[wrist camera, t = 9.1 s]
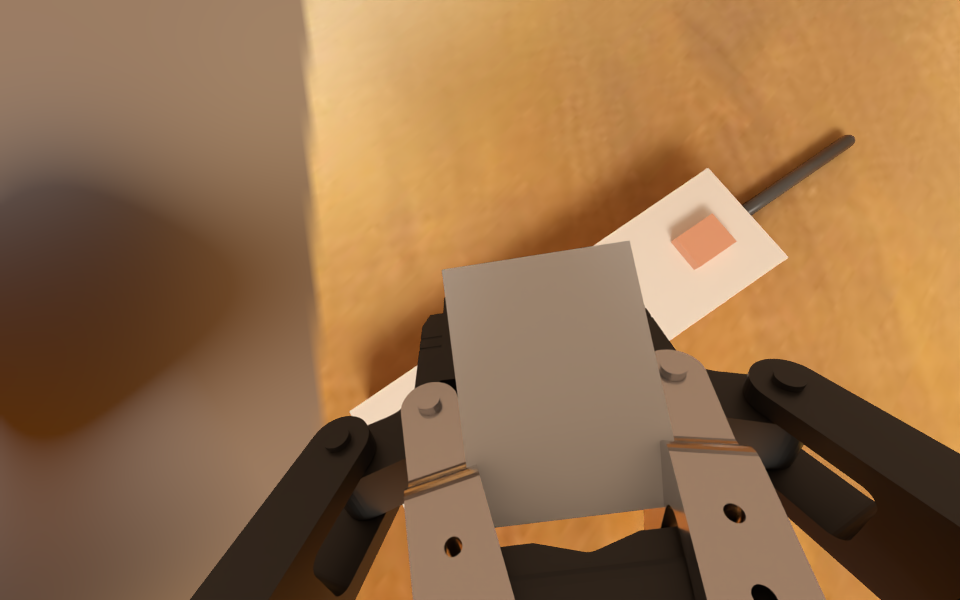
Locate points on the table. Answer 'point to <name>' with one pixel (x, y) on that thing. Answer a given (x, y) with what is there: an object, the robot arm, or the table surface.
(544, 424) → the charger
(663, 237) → the power strip
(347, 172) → the table surface
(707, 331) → the table surface
